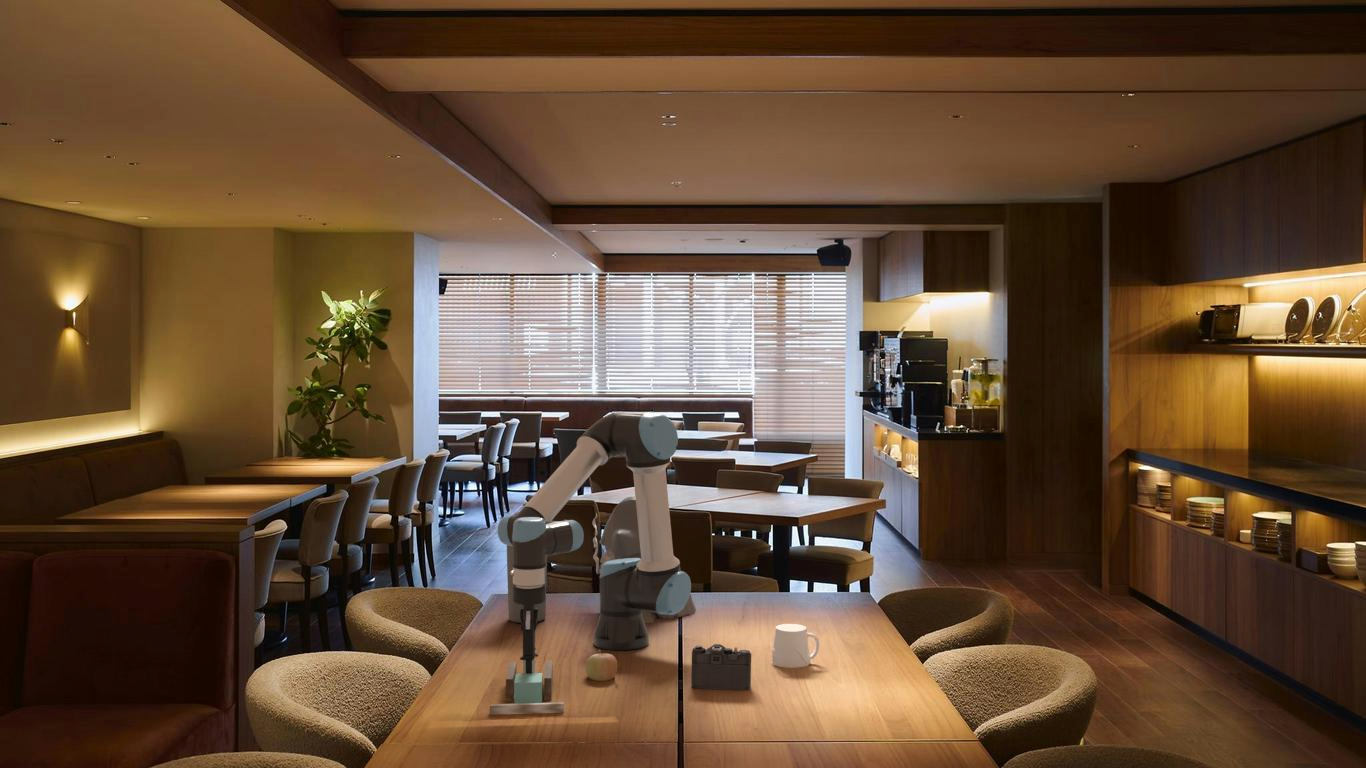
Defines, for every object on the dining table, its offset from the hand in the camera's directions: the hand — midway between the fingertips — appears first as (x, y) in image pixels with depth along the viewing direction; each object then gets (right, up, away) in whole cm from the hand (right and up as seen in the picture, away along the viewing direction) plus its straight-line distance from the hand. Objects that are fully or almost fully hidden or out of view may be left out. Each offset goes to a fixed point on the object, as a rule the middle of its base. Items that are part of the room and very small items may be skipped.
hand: (529, 686), depth 249 cm
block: (+1, -2, -5) cm, 5 cm away
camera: (+45, -3, +11) cm, 46 cm away
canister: (-11, -1, +73) cm, 74 cm away
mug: (+65, -2, +28) cm, 71 cm away
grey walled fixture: (0, -3, -2) cm, 4 cm away
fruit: (+16, -3, +12) cm, 20 cm away
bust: (+23, -1, +85) cm, 88 cm away
